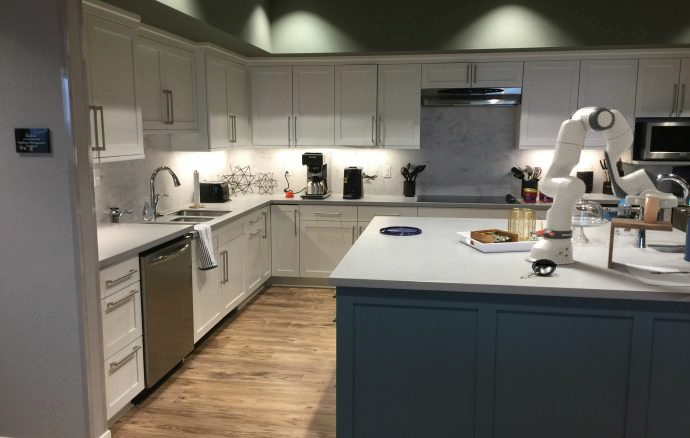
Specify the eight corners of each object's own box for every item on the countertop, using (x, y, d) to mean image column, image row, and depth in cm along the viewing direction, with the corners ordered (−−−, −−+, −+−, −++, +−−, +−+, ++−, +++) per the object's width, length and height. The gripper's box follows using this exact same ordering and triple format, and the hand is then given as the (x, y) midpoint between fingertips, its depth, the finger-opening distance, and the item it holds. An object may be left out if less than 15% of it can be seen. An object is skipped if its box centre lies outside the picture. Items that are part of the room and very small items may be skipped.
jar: (651, 223, 240) (654, 195, 238) (640, 222, 245) (643, 194, 243) (659, 223, 243) (662, 195, 241) (647, 221, 247) (650, 193, 245)
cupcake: (541, 244, 295) (542, 222, 294) (531, 241, 304) (532, 219, 302) (555, 244, 298) (556, 221, 296) (545, 241, 306) (547, 218, 304)
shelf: (608, 261, 260) (611, 217, 257) (665, 266, 250) (670, 221, 247) (607, 268, 246) (611, 222, 243) (668, 274, 236) (672, 226, 233)
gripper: (625, 191, 261) (625, 194, 248) (676, 193, 252) (679, 197, 240) (624, 204, 262) (624, 208, 249) (675, 207, 253) (678, 211, 241)
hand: (651, 203), depth 244 cm, fingers open, 8 cm apart
